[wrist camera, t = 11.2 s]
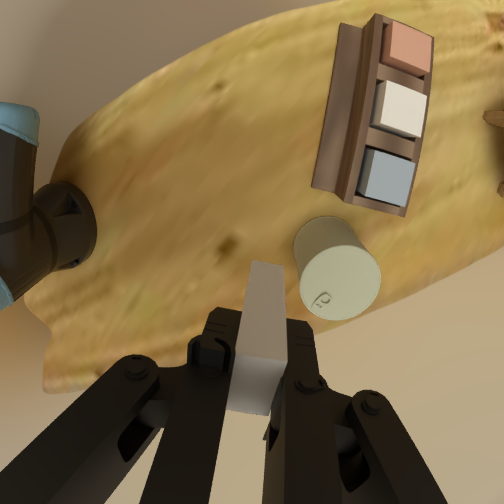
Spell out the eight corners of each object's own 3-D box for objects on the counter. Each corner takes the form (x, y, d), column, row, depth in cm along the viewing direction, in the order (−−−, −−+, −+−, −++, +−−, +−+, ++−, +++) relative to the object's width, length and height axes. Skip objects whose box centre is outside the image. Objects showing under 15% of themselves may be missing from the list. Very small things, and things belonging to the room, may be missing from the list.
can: (279, 247, 41) (280, 288, 30) (327, 202, 38) (347, 228, 27) (323, 288, 43) (336, 336, 32) (368, 247, 40) (398, 285, 29)
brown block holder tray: (310, 186, 38) (318, 196, 31) (339, 24, 29) (350, 5, 22) (402, 209, 38) (424, 223, 31) (429, 57, 29) (453, 47, 22)
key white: (362, 125, 32) (380, 123, 26) (368, 89, 30) (387, 80, 24) (398, 136, 32) (420, 137, 26) (404, 101, 30) (426, 96, 24)
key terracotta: (371, 68, 29) (389, 56, 23) (375, 36, 27) (393, 20, 21) (406, 81, 29) (429, 72, 23) (409, 49, 27) (431, 37, 21)
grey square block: (350, 186, 35) (364, 196, 29) (358, 148, 33) (375, 150, 27) (385, 195, 35) (404, 206, 29) (393, 158, 33) (415, 163, 27)
